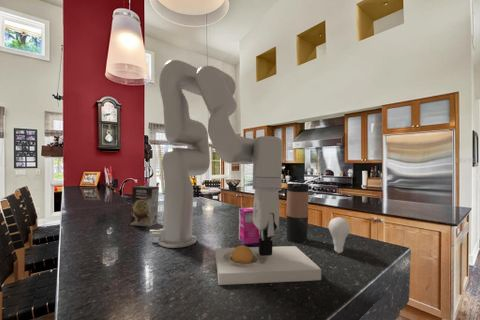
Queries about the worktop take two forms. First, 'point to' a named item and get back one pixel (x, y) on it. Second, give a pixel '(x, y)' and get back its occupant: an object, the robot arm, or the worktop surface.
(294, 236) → the travel mug
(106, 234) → the worktop surface
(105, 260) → the worktop surface
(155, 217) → the coffee box
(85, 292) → the worktop surface
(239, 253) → the ball
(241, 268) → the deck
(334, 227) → the lightbulb
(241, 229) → the supplement box
